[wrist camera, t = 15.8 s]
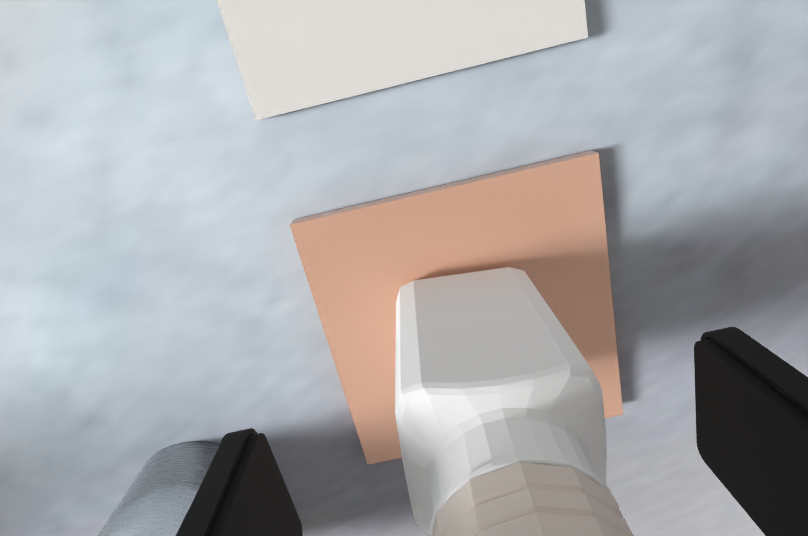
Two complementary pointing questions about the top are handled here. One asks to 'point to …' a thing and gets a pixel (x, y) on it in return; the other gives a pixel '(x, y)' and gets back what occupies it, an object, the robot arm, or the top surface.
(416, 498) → the salt shaker
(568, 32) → the pad
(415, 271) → the pad
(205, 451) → the grey tin
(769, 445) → the robot arm
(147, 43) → the top surface
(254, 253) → the top surface
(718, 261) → the top surface
